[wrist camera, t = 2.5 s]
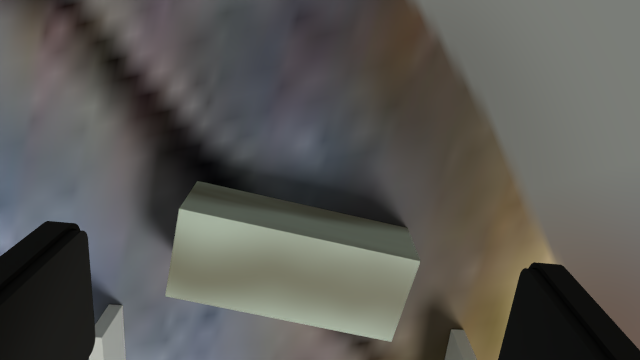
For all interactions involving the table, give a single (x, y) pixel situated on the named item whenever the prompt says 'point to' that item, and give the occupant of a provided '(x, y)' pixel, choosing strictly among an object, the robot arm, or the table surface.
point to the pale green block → (291, 262)
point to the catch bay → (111, 341)
